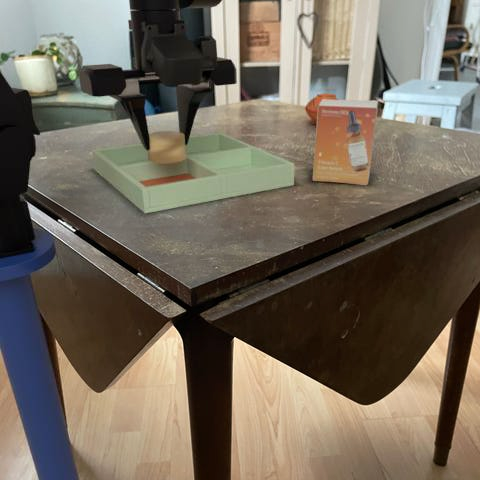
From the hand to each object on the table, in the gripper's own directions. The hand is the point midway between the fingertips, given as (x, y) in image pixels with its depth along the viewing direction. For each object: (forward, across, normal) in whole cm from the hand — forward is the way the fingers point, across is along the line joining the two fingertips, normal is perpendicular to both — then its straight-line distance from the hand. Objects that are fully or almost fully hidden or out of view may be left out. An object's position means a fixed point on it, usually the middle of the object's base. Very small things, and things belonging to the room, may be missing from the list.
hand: (165, 147), depth 71 cm
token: (+2, 0, 0) cm, 2 cm away
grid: (+6, +6, +5) cm, 10 cm away
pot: (+6, +44, +23) cm, 50 cm away
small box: (+6, +24, -7) cm, 26 cm away
